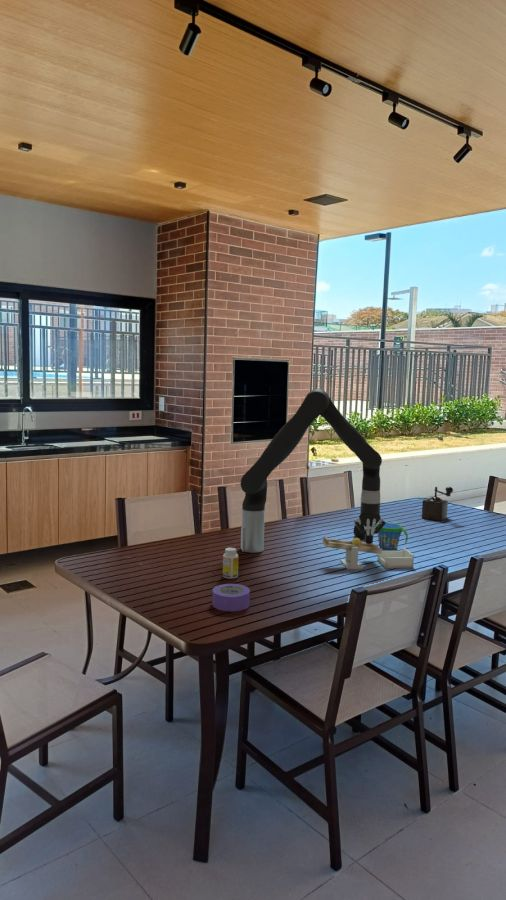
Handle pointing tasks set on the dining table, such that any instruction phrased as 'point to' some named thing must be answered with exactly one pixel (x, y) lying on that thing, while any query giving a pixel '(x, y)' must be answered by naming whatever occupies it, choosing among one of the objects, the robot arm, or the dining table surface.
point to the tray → (396, 559)
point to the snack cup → (390, 536)
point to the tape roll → (231, 597)
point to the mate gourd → (358, 532)
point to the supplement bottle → (230, 563)
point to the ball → (356, 541)
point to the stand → (351, 559)
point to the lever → (351, 545)
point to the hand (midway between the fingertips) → (368, 543)
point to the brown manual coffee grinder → (436, 506)
